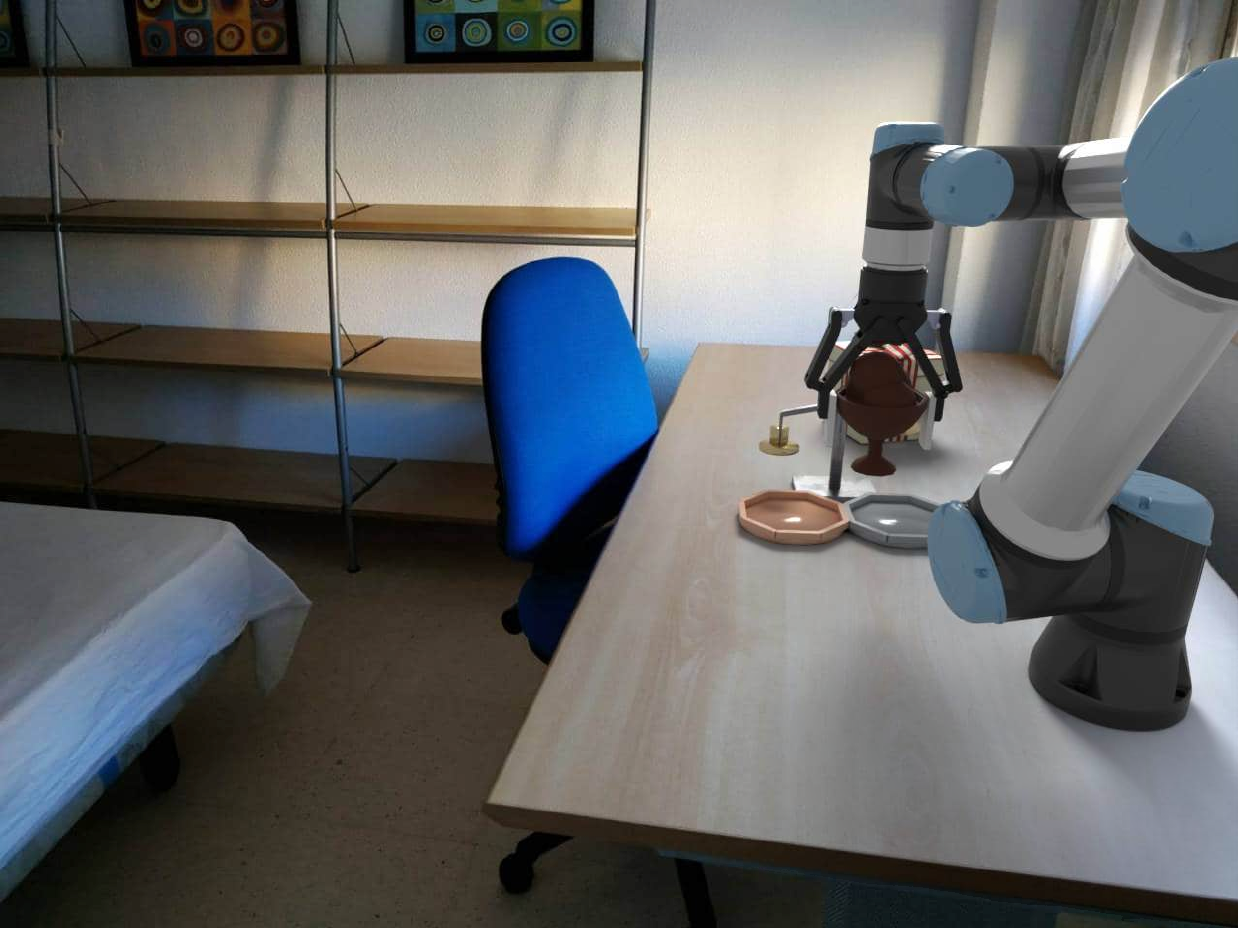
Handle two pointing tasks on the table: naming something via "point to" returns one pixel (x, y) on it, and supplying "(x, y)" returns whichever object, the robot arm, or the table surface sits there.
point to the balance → (834, 483)
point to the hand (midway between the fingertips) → (875, 444)
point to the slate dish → (891, 519)
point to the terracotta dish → (792, 517)
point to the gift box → (908, 365)
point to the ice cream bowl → (878, 407)
